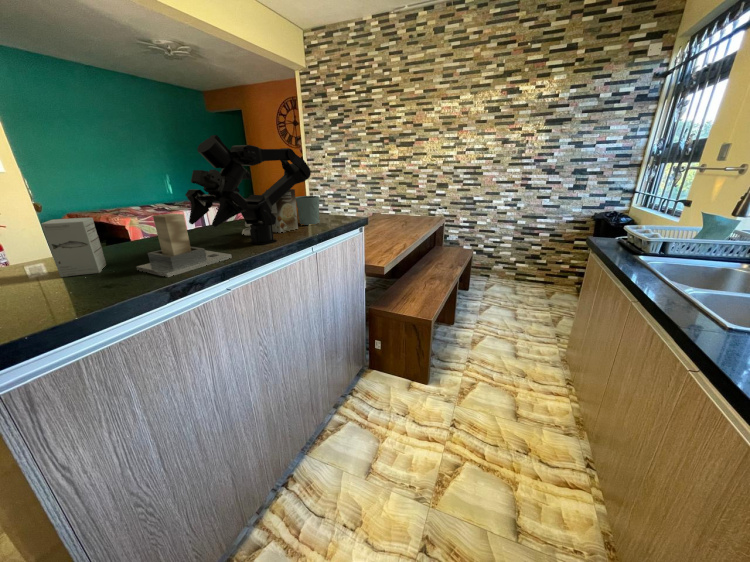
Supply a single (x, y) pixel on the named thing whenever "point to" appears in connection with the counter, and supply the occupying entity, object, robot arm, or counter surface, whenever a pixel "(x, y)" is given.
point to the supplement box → (74, 246)
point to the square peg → (172, 233)
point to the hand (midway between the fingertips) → (201, 224)
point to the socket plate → (180, 261)
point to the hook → (247, 230)
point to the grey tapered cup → (308, 209)
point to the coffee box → (285, 213)
